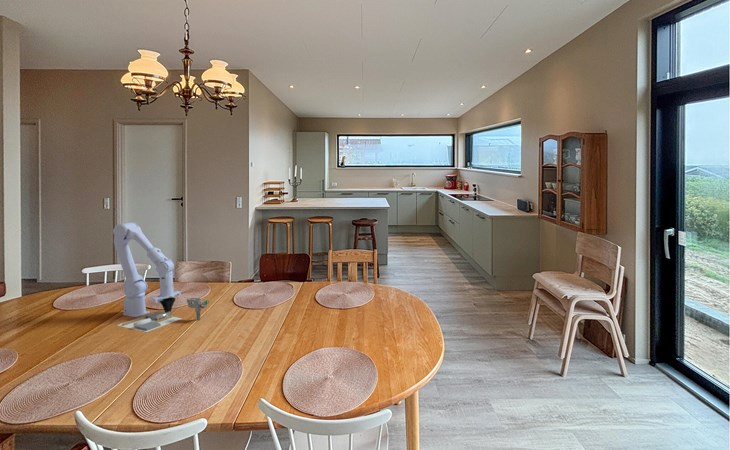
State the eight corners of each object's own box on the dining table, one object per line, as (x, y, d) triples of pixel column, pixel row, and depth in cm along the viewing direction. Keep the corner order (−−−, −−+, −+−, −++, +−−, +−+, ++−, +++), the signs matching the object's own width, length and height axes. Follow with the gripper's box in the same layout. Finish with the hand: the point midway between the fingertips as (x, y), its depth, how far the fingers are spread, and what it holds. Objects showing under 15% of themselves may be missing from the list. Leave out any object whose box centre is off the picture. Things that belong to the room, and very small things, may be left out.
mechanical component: (206, 322, 197) (205, 300, 195) (186, 320, 199) (185, 299, 197) (210, 320, 200) (209, 299, 198) (190, 318, 202) (189, 297, 200)
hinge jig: (116, 325, 191) (116, 320, 191) (153, 313, 209) (153, 307, 208) (146, 332, 184) (146, 326, 183) (182, 319, 201) (182, 313, 200)
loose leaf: (146, 318, 201) (146, 313, 200) (159, 313, 207) (159, 309, 207) (159, 320, 197) (158, 315, 197) (171, 316, 203) (171, 311, 203)
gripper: (159, 290, 196) (161, 319, 198) (185, 283, 209) (186, 310, 211) (148, 288, 199) (150, 317, 200) (174, 281, 212) (175, 308, 214)
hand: (168, 313), depth 206 cm, fingers closed
